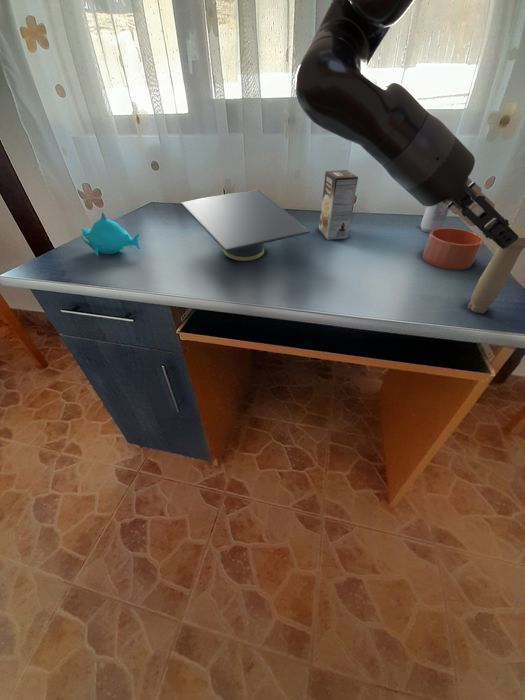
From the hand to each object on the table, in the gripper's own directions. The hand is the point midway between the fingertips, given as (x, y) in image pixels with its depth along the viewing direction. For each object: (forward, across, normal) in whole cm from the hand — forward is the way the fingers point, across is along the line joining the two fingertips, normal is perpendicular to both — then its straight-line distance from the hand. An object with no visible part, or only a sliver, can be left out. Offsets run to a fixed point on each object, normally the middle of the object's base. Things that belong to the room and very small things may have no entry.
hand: (496, 230), depth 45 cm
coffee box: (-5, +42, +27) cm, 50 cm away
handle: (+14, +3, +11) cm, 18 cm away
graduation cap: (-26, +26, +39) cm, 54 cm away
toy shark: (-55, +23, +58) cm, 83 cm away
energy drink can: (+20, +48, +10) cm, 53 cm away
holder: (+17, +26, +10) cm, 33 cm away
